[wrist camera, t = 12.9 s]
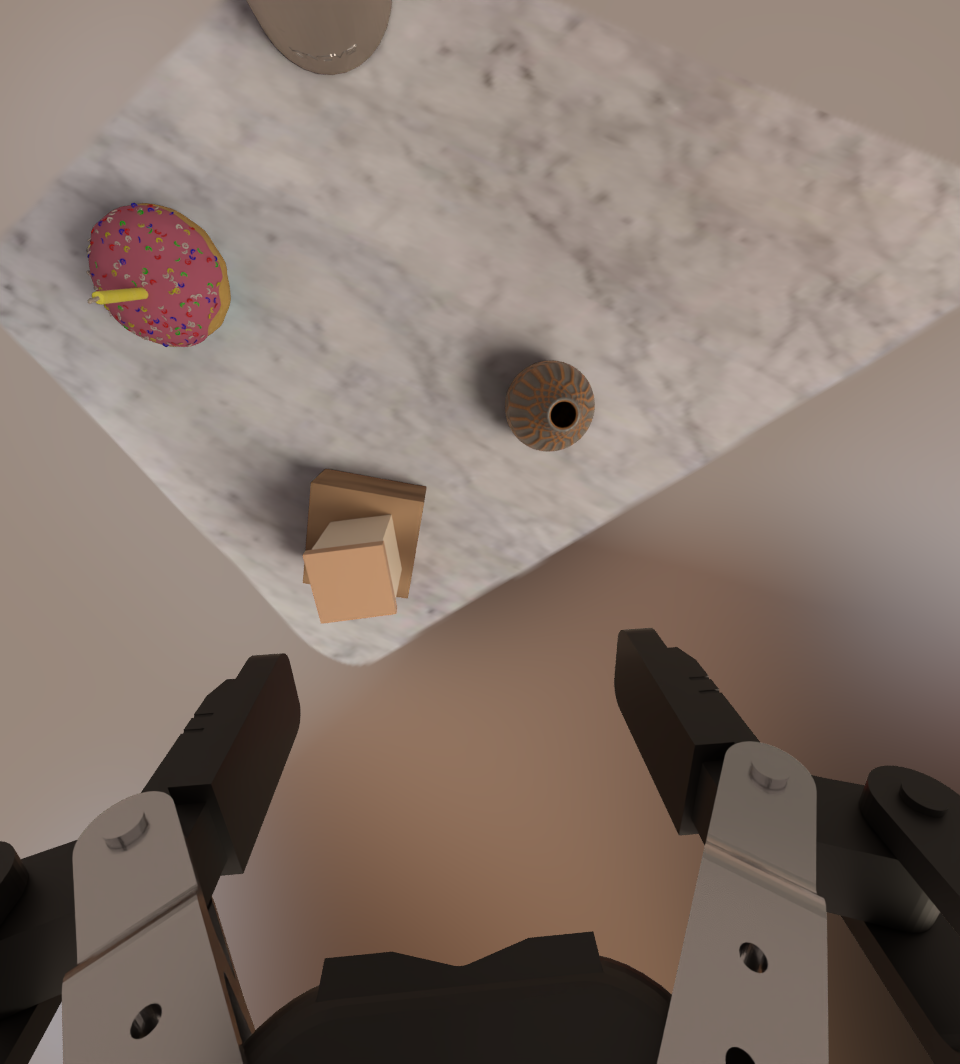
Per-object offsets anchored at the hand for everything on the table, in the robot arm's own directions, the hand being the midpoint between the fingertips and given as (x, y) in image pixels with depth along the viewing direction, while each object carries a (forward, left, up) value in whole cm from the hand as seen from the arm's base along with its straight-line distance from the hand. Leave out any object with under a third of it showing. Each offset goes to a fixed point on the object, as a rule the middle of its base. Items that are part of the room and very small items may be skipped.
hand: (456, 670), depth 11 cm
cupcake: (-13, -19, -32) cm, 39 cm away
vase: (-3, +8, -32) cm, 33 cm away
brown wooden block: (+7, -8, -32) cm, 34 cm away
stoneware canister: (+8, -8, -27) cm, 29 cm away
